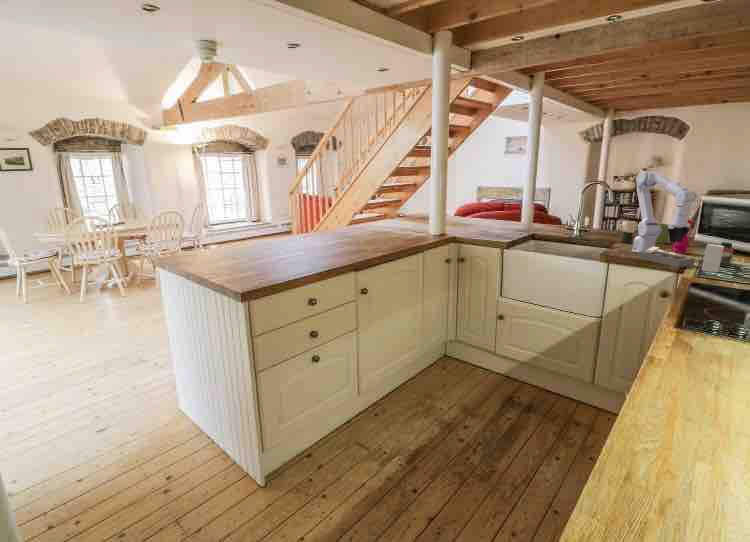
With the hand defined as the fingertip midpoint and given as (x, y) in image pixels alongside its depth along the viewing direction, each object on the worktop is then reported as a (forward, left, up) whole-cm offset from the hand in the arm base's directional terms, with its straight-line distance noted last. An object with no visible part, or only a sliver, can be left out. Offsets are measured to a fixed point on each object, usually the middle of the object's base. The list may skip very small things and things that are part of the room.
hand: (675, 242), depth 205 cm
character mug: (-40, +23, -10) cm, 47 cm away
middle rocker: (0, -8, -4) cm, 9 cm away
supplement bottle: (+15, +14, -10) cm, 23 cm away
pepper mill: (-11, +26, -10) cm, 30 cm away
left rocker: (-5, -8, -4) cm, 11 cm away
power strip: (0, -6, -9) cm, 11 cm away
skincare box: (+19, -4, -10) cm, 22 cm away
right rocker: (+6, -8, -4) cm, 11 cm away
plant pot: (-33, +44, -10) cm, 56 cm away
